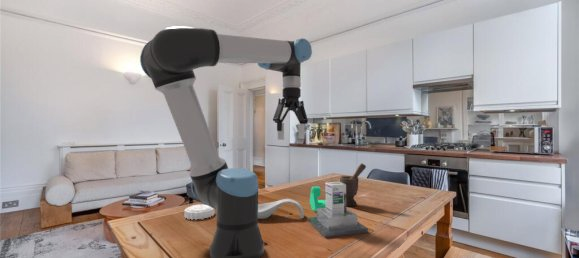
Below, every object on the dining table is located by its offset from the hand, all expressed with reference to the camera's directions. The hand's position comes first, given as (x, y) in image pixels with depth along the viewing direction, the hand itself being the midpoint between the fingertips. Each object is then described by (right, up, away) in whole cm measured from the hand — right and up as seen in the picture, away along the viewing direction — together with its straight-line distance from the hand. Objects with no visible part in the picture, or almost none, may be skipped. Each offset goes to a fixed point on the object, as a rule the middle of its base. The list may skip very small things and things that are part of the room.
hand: (291, 139), depth 106 cm
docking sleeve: (+16, -32, -12) cm, 37 cm away
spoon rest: (-7, -32, -1) cm, 33 cm away
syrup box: (+16, -30, -12) cm, 36 cm away
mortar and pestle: (+29, -32, +16) cm, 46 cm away
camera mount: (+13, -32, +10) cm, 36 cm away
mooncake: (-39, -32, +1) cm, 50 cm away
